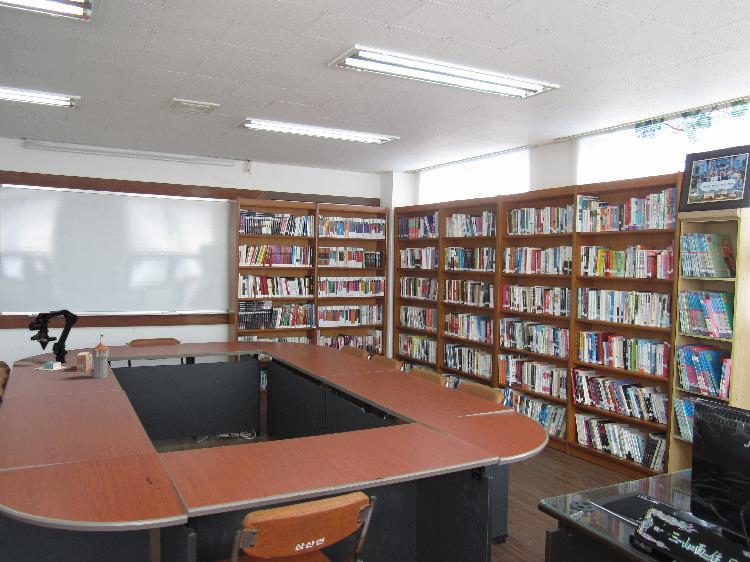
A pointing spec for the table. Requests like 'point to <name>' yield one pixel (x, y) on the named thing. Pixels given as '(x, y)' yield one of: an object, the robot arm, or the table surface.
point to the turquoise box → (52, 365)
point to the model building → (100, 360)
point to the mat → (49, 369)
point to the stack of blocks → (84, 361)
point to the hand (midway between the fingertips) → (43, 349)
